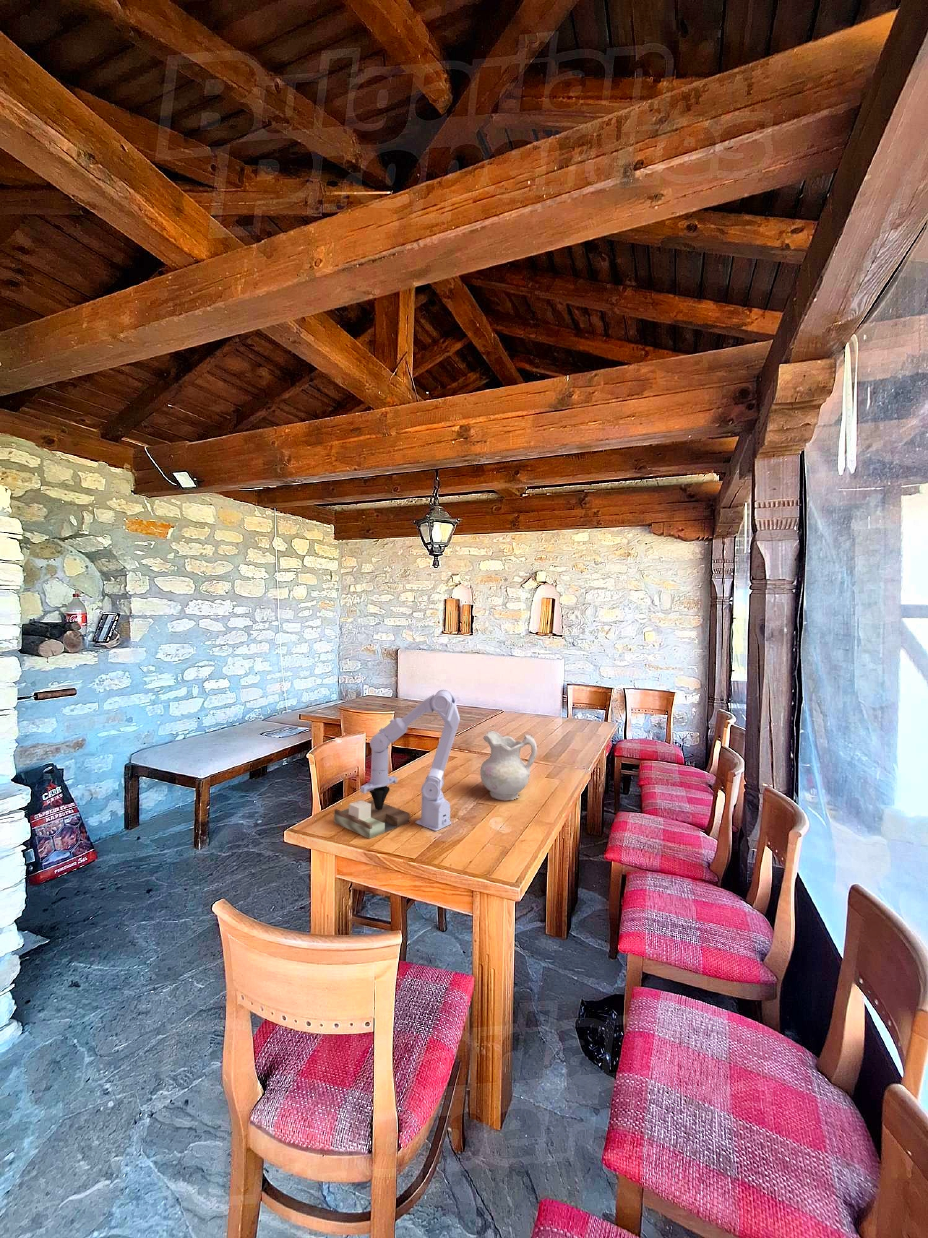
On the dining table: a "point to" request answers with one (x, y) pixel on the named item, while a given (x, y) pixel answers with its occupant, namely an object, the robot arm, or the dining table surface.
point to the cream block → (360, 810)
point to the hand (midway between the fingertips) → (378, 809)
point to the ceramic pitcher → (506, 766)
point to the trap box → (373, 820)
